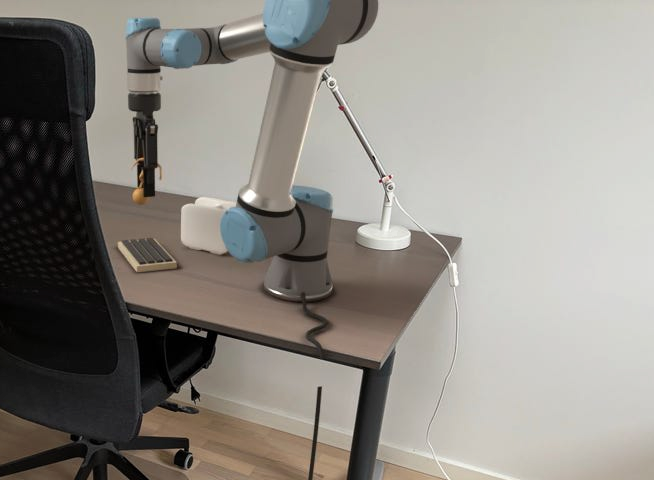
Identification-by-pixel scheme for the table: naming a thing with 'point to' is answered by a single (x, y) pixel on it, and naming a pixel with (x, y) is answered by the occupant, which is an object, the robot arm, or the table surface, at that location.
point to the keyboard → (146, 255)
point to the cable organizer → (204, 224)
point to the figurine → (138, 192)
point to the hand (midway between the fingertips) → (146, 193)
